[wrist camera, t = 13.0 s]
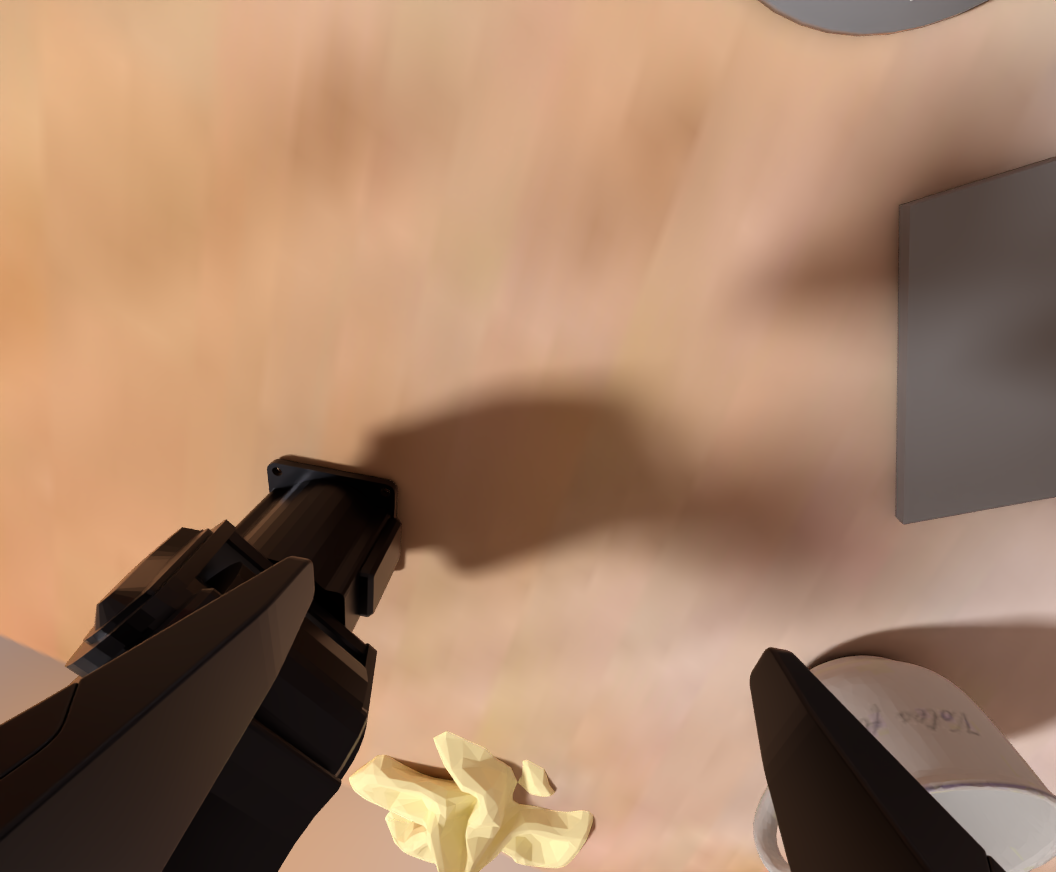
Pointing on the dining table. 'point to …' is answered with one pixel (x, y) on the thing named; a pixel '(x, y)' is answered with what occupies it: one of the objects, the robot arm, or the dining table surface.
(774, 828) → the teacup
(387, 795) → the cloth
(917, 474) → the mat
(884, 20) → the grey disc
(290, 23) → the dining table surface
